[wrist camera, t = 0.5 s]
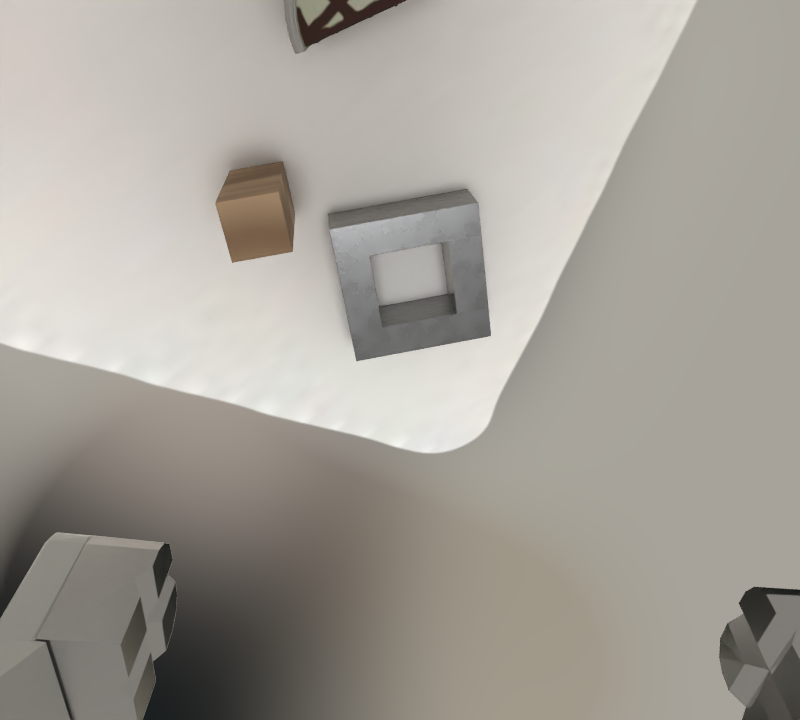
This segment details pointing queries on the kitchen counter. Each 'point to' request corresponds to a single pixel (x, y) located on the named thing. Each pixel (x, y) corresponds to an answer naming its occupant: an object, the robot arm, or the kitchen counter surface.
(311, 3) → the food container
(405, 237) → the steel socket
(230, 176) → the walnut key peg
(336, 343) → the kitchen counter surface
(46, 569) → the robot arm
